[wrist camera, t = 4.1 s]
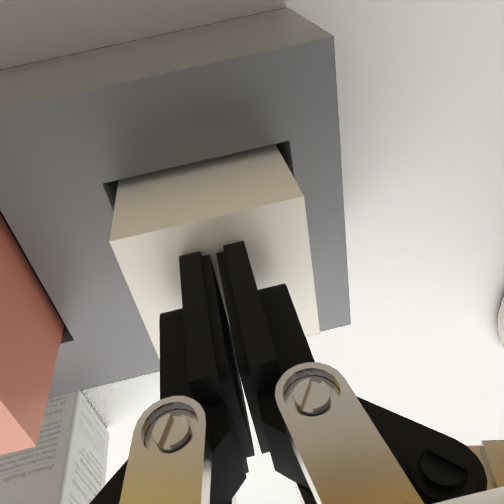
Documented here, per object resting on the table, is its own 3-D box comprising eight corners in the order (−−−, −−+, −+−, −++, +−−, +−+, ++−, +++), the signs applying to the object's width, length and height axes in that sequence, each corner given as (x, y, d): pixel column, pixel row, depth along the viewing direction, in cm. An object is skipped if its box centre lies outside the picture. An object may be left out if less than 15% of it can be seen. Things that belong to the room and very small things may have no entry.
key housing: (287, 7, 15) (333, 36, 11) (313, 248, 21) (350, 324, 17) (-202, 113, 15) (-336, 184, 11) (-36, 332, 21) (-83, 430, 17)
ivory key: (266, 128, 15) (304, 196, 11) (285, 247, 17) (319, 333, 14) (121, 161, 14) (109, 241, 11) (162, 276, 17) (164, 371, 13)
